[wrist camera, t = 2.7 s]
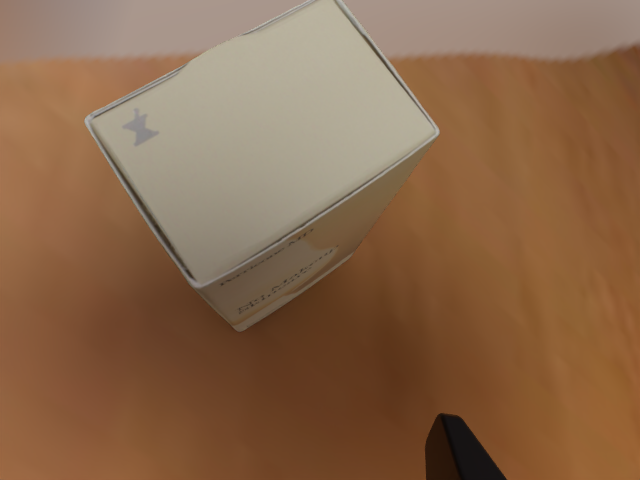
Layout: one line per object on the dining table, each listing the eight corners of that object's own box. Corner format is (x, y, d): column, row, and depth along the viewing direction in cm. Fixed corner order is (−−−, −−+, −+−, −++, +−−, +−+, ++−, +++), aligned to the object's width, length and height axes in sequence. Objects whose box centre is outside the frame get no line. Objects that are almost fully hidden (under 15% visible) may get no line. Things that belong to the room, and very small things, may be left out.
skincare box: (239, 336, 20) (179, 309, 8) (185, 254, 21) (60, 122, 9) (359, 254, 22) (454, 130, 10) (305, 179, 22) (332, -23, 10)
